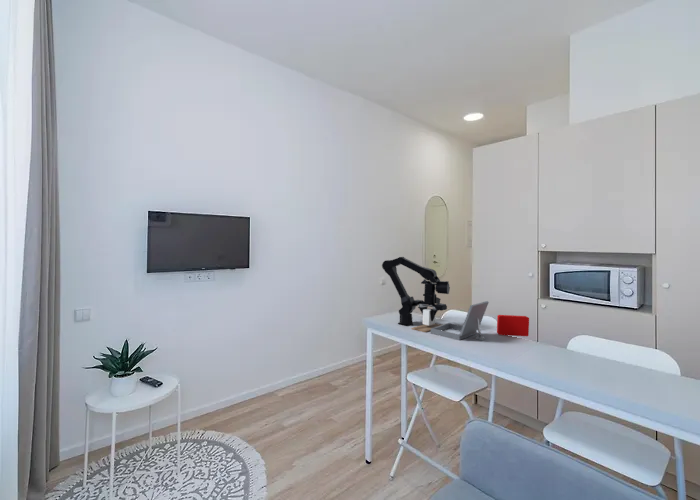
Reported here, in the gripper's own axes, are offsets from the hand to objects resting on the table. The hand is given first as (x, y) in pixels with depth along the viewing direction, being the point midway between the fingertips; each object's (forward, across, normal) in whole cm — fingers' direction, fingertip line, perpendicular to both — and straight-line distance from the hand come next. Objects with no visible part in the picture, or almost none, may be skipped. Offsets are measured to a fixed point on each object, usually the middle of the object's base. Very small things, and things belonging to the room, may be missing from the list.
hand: (428, 320), depth 190 cm
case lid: (-6, -25, 0) cm, 26 cm away
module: (+2, 0, 0) cm, 2 cm away
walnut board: (+4, 0, 0) cm, 4 cm away
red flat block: (+4, -37, -22) cm, 43 cm away
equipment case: (+4, -19, 0) cm, 19 cm away
